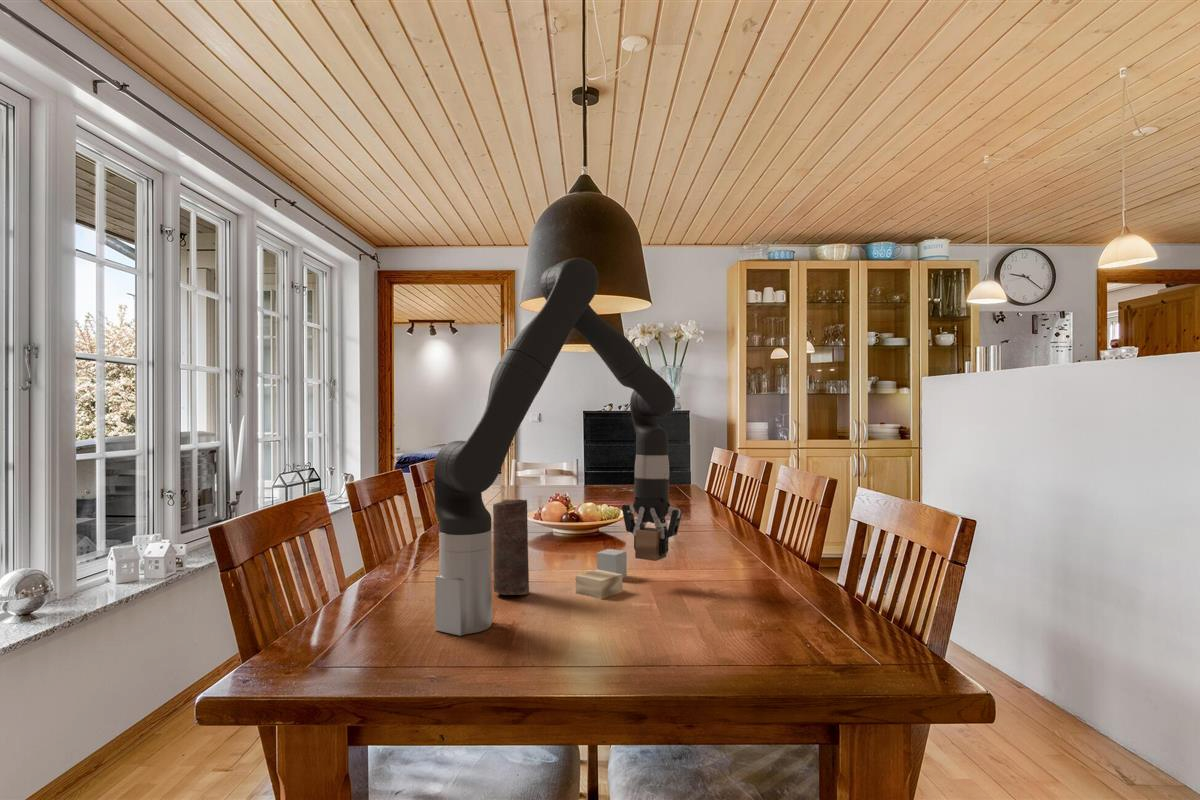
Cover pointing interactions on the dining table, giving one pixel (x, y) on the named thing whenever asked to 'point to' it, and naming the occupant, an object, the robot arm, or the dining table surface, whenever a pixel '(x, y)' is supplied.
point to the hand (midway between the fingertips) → (651, 553)
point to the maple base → (599, 584)
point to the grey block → (613, 561)
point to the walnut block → (647, 544)
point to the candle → (510, 547)
